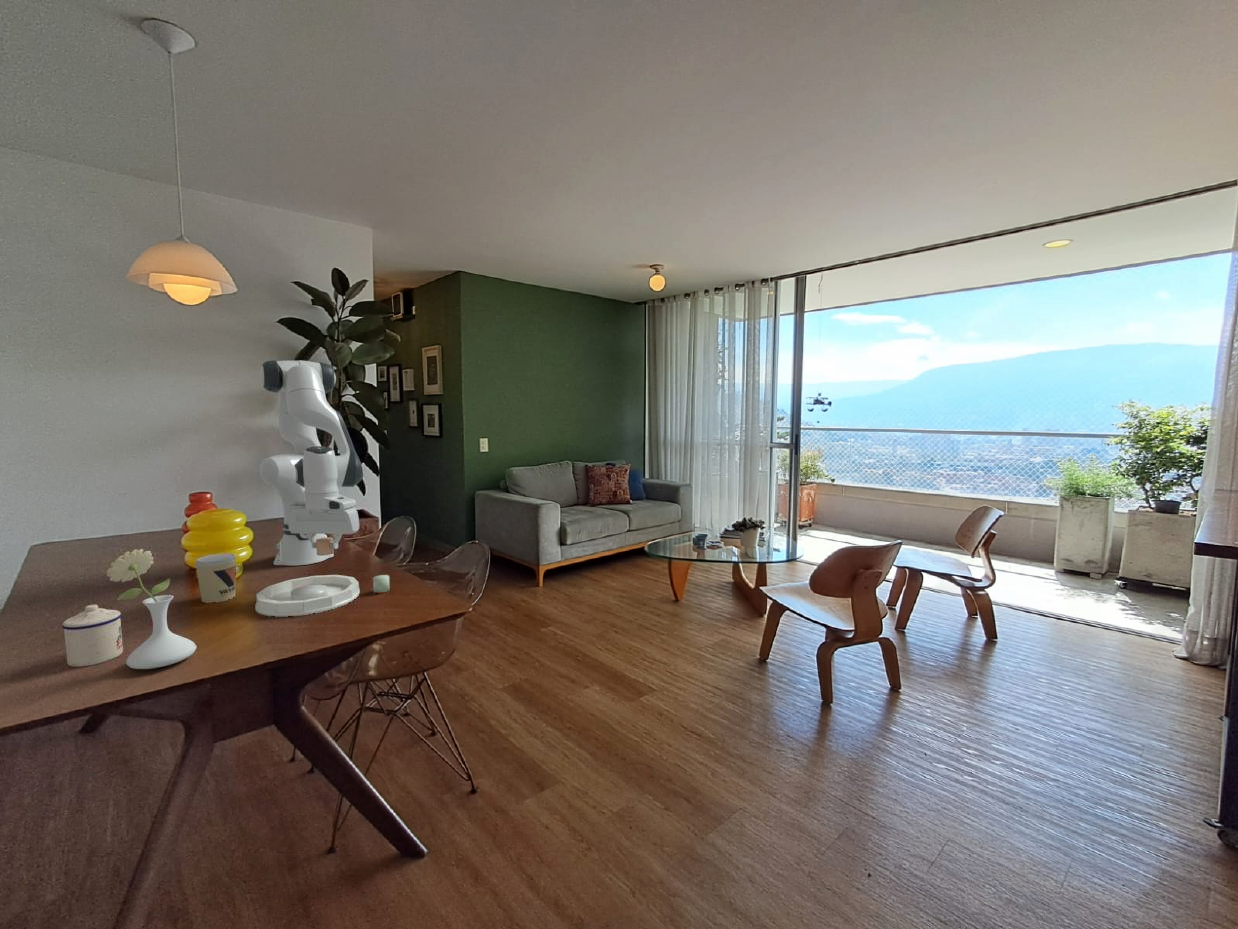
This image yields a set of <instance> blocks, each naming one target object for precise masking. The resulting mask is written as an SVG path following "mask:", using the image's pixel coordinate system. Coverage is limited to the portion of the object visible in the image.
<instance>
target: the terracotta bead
mask: <svg viewBox="0 0 1238 929" xmlns="http://www.w3.org/2000/svg"><path fill="white" fill-rule="evenodd" d="M333 540H334V538H333V537H331V536H330V537H328V536H327V538H319V539H316V549H317V555H319V556H324V555H330V554H334V553H335V552H334V549H330V543H332V542H333Z"/></svg>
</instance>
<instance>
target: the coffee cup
mask: <svg viewBox="0 0 1238 929" xmlns="http://www.w3.org/2000/svg"><path fill="white" fill-rule="evenodd" d="M194 564H195V566H196V575H197V581H198V586H199V591H200V592H199V593H200V597H201V598H200V599H201V602H202V603H204V602H205V604H213V603H212V602H216V603H221V602H226V601H229V600H228V599H230V600H231V599H234V598H235V597H236V592H237V591H236V590H237V585H236V584H237V556H236V554H234V553H217V554H209V555H206V556H205V555H204V556H202V557H199V558H197V559H196V561H195V563H194ZM233 597H234V598H233ZM209 602H210V603H209Z"/></svg>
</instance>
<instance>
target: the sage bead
mask: <svg viewBox="0 0 1238 929" xmlns="http://www.w3.org/2000/svg"><path fill="white" fill-rule="evenodd" d="M372 582H373V583H372V585H373V593H374V592H387V591H389V590H390V589H391V588H390V575H389V574H379V575H376V576H373V578H372ZM390 591H391V590H390ZM390 591H389V592H390ZM387 593H388V592H387Z"/></svg>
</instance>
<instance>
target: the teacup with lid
mask: <svg viewBox="0 0 1238 929" xmlns="http://www.w3.org/2000/svg"><path fill="white" fill-rule="evenodd" d="M122 615H123V614H122V613H121V612H120V611H119V610H116V609H106V608H103V607H102V608H101V607H99V606H98V604H90V605H86V606H85V607H84V610H83V611H81V612H79V613H78V614H76V615H75V616H71V617H69V618H67V619H65V620H64V621H63V623H62V625H61V628H62V629H63V632H64V644H65V652H66V663H67V665H68V666H70V667H73V668H74V667H75V668H76V667H78V668H79V667H80V668H81V667H82V668H83V667H88V666H94V665H99V664H101V663H105V662H109V661H110V660H111V661H112V660H113V659H116V658H118V657H119V656H120V655H122V654H123V651H124V645H123V644H124V643H123V634H122V633H123V632H122V625H121V624H122V622H121V617H122Z"/></svg>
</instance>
